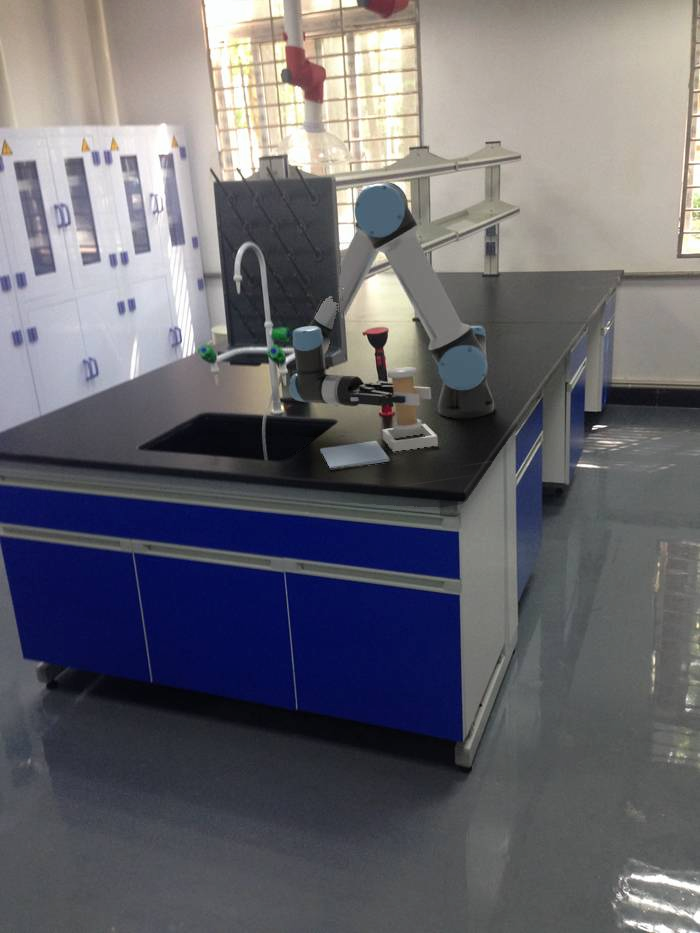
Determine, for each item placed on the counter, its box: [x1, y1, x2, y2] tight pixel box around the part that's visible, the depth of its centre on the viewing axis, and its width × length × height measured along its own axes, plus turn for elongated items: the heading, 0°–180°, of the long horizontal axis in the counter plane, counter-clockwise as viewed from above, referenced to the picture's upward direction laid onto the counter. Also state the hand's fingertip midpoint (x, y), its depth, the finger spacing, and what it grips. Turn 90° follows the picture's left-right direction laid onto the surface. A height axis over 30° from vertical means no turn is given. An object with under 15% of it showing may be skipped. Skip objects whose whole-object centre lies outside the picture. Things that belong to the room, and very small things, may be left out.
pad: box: [319, 440, 390, 469], centre depth 198 cm, size 14×14×1 cm
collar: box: [382, 423, 439, 453], centre depth 205 cm, size 11×11×2 cm
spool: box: [386, 366, 423, 431], centre depth 201 cm, size 7×7×14 cm
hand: (424, 396), depth 198 cm, fingers closed on spool, 5 cm apart
